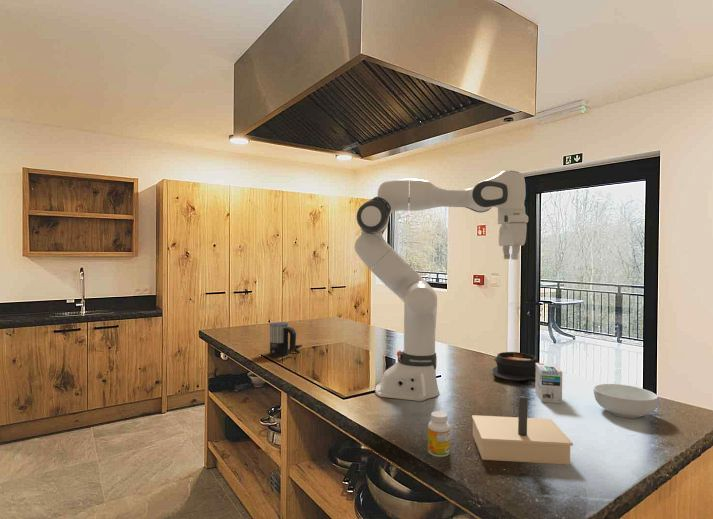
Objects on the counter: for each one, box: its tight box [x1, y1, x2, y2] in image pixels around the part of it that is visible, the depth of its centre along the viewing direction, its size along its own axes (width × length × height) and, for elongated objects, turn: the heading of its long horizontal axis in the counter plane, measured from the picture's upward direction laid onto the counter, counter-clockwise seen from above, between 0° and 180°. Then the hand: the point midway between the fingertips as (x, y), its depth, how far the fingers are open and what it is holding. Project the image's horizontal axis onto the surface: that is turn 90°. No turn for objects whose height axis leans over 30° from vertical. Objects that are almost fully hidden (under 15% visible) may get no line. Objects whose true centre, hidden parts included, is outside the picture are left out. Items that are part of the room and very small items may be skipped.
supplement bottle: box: [427, 410, 451, 458], centre depth 107 cm, size 5×5×10 cm
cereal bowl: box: [593, 383, 659, 419], centre depth 135 cm, size 17×17×7 cm
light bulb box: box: [534, 362, 563, 404], centre depth 149 cm, size 11×7×11 cm, turn 168°
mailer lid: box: [471, 395, 574, 447], centre depth 109 cm, size 21×15×10 cm
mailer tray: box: [472, 420, 571, 465], centre depth 109 cm, size 20×14×5 cm
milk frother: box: [268, 321, 303, 357], centre depth 210 cm, size 14×16×15 cm
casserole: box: [492, 351, 540, 382], centre depth 174 cm, size 25×19×8 cm
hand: (510, 259), depth 148 cm, fingers open, 8 cm apart
